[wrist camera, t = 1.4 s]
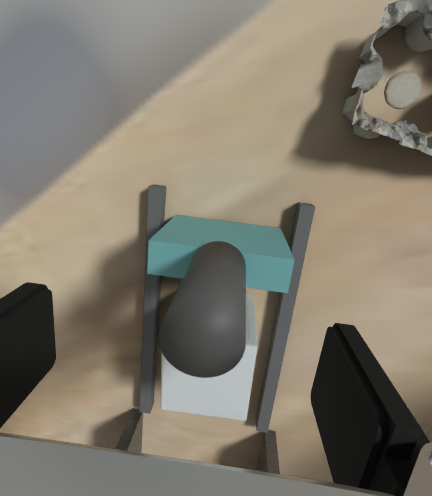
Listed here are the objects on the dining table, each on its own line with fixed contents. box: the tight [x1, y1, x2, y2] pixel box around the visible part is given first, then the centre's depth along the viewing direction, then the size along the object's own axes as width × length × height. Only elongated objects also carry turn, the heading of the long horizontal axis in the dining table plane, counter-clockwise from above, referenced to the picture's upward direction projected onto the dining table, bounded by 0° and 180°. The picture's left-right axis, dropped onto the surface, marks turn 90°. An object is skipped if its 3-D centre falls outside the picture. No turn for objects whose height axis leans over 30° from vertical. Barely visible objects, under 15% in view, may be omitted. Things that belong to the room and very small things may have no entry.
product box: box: [161, 294, 258, 421], centre depth 23 cm, size 6×6×7 cm
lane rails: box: [140, 185, 315, 433], centre depth 26 cm, size 12×21×1 cm, turn 174°
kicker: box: [147, 215, 294, 378], centre depth 17 cm, size 8×3×14 cm, turn 84°
